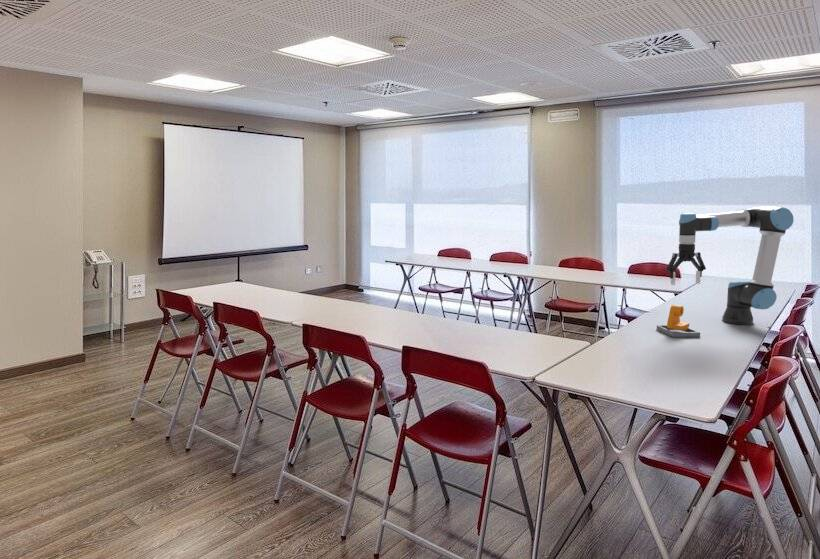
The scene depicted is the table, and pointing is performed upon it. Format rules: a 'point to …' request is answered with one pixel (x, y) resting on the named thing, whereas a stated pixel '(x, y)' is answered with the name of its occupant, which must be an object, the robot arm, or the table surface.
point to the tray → (678, 332)
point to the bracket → (676, 318)
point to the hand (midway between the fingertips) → (685, 284)
